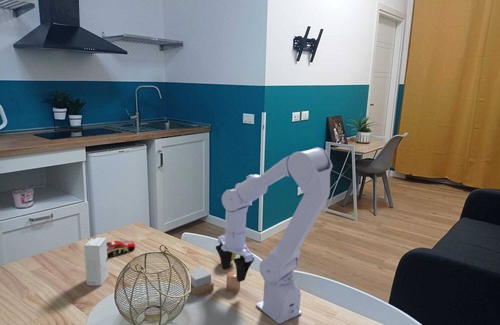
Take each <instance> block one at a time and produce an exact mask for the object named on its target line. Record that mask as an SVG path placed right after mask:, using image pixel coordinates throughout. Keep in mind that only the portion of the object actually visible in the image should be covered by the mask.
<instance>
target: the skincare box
mask: <svg viewBox="0 0 500 325" xmlns="http://www.w3.org/2000/svg"><path fill="white" fill-rule="evenodd" d="M106 243H107V237H92V238H90V239H89V240H88V241H87V242H86V244H84V246H83V249H84V250H83V251H84V261H85V262H84V264H85V277H86V285H87V286H92V287H93V286H98V287H99V286H102V285H104V283H105V281H106V280H107V279H108V277H109V264H108V263H109V262H108V261H109V260H108V259H109V258H107V244H106Z"/></svg>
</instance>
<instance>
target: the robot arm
mask: <svg viewBox="0 0 500 325" xmlns="http://www.w3.org/2000/svg"><path fill="white" fill-rule="evenodd" d="M333 166H334V165H333V163H332V160H331V159H330V156H329V153H327V151H326V150H325V149H323V148H321V147H313V148H311V149H308V150H303V151H294V152H293V153H292V154H290V155H288V156H286V157H284V158H282V159H281V160H279V161H278V162H276V163H275V164H274V165H272V167H270V168H269V169H268V170H266V171H264V172H263V173H261V175H260V174H256V173H255V174H249V175H247V176H246V177H245V178H246V179H245V180H244V181H242V182H239V183H238V182H237V183H236V184H235V185H234V186H235V187H234V188H232V189H231V188H230V189H226V190H225V191H224V192H223V193H222V195H221V203H222V206H223V208H224V209H225V220H224V222H225V223H224V225H225V226H224V227H225V228H224V234H222V235H219V236H217V237H218V238H217V243H218V244H219V245H216V246H215V250H216V251H217V253H218V256H219V260H220V262H221V263H220V264H221V268H222V270H223V271H226V270H229V269H230V268H231V264H232V261H231V257H232V253H235V254H236V255H239V257H237V258H236V257H235V259H234V260H233V263H234V266H235V271H236V272H237V281H238V282H240V283H241V282H243V281H245V280H246V277H247V273H248V271H249V269H250V267H251V265H252V263H253V262H254V261H255V257H254V254H253V253H252V252H251V251H250V249H249V248H248V246H247V245H246V227H247V212H248V210H249V209H248V208H249V206H250V205H251V204H252V202H254V201H256V200H257V199H259V198H260V197H262V196H263V195H265V194H267V193H268V192H267V191H268V187H269V186H271V185H272V184H274V183H276V182H278V181H279V180H281V179H283V178H284V177H288V178H289V177H292V178H293V180H294V182H295V183H296V184H297V185H298V187H299V188H300V190H301V191H302V192H303V195H302V198H301V199H300V201H299V203H298V205H297V207H296V210H295V211H294V212H293V215H292V217H291V219H290V221H289V223H288V225H287V226H286V228H285V230H284V232H283V234H282V236H281V237H280V239H279V242H278V244H277V245H275V247H274V248H273V249H272V250H271V251H270V252H269V254H268V255H267V257H266V258H264V259H262V260H261V261H260V263H259V274H260V276H261V277H262V278H263V281H264V283H263V300H261V301H259V302H256V305H255V306H256V307H258V308H259V309H260V310H261V311H262V312H263V313H265V314H266V315H267V316H268V317H270V318H271V319H272V320H273V321H274V322H276V323H277V324H282V323H284V322H286V321H288V320H290V319H292V318H296V317H297V316H299V315H301V314H302V311H301V310H300V306H301V304H300V303H301V294H302V292H301V289H299V287H298V286H297V285H296V284H295V282H294V280H293V279H294V278H293V276H294V271H295V270H297V268H298V266H299V258H300V255H301V254H302V252H301V250H300V249H301V248H302V246H303V244H304V242H305V241H306V238H307V236H308V235H309V233H310V231H311V229H312V227H313V226H314V224H315V222H316V221H317V219H318V217H319V215H320V213H321V211H322V210H323V208H324V206H325V205H326V203H327V201H328V200H329V197H330V193H331V171H332V169H333Z"/></svg>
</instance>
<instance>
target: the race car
mask: <svg viewBox="0 0 500 325" xmlns="http://www.w3.org/2000/svg"><path fill="white" fill-rule="evenodd" d="M106 244H107V259H110V258H112V257H115V256H119V255H122V254H126V253H129V252H130V253H131V252H133V251H134V250H135V249H136V244H135V241H132V240H131V241H130V240H122V241H121V240H112V241H109V242H106Z"/></svg>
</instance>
